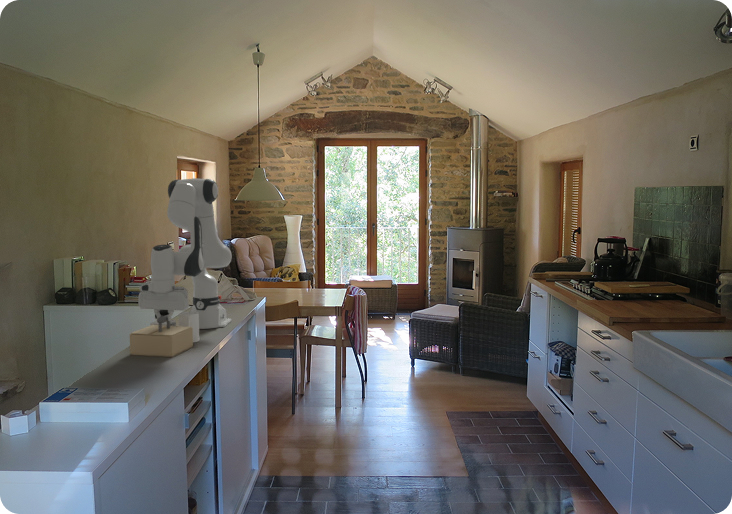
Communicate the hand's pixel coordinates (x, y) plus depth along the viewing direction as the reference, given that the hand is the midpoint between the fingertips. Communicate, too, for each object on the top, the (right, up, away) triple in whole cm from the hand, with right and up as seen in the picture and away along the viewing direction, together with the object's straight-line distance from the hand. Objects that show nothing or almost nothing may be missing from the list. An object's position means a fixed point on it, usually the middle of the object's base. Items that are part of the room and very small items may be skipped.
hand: (164, 320), depth 230 cm
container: (-8, -11, +21) cm, 25 cm away
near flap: (+3, -4, 0) cm, 5 cm away
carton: (-1, -12, +1) cm, 12 cm away
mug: (+5, -11, +16) cm, 20 cm away
